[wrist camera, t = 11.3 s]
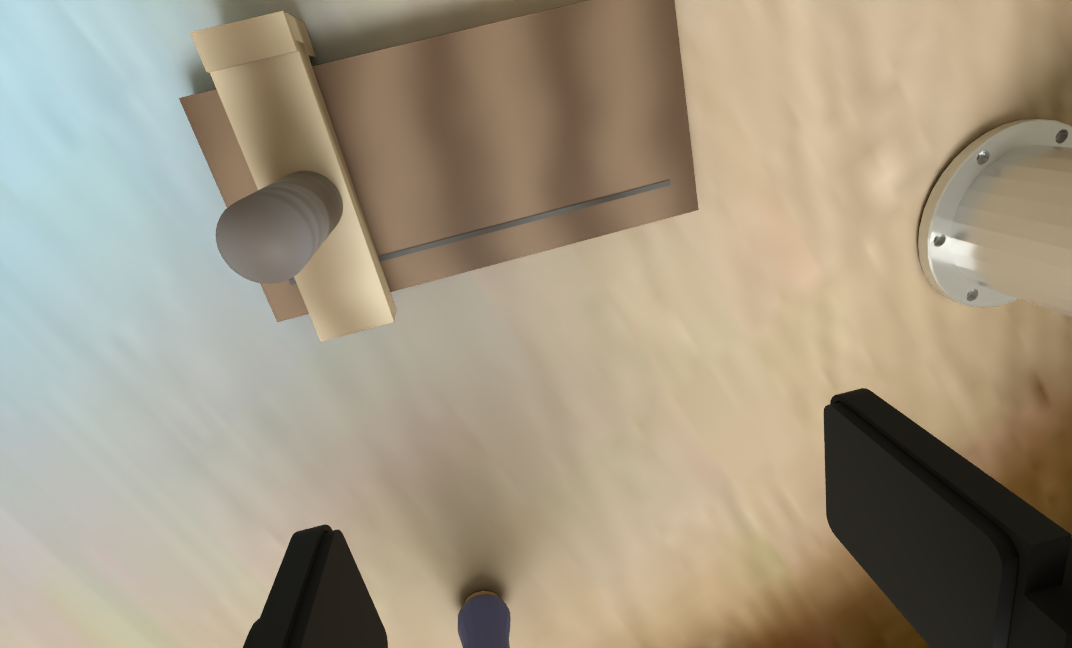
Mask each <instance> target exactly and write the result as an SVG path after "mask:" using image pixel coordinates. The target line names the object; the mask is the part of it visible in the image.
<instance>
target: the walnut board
mask: <svg viewBox="0 0 1072 648" xmlns="http://www.w3.org/2000/svg"><path fill="white" fill-rule="evenodd" d="M312 68H313V70H314V73H315V76H316V79H317V82H318V85H319V88H320V91H321V94H322V96H323V99H324V102H325V105H326V108H327V111H328V114H329V117H330V119H331V122H332V125H333V128H334V131H335V134H336V137H337V140H338V143H339V145H340V148H341V151H342V154H343V157H344V160H345V163H346V166H347V168H348V171H349V174H350V177H351V180H352V183H353V186H354V189H355V191H356V194H357V197H358V200H359V203H360V206H361V209H362V212H363V215H364V217H365V220H366V223H367V226H368V229H369V232H370V235H371V238H372V240H373V243H374V246H375V249H376V252H377V255H378V258H379V261H380V264H381V266H382V269H383V272H384V275H385V278H386V281H387V284H388V287H389V289H390V292H392V291H396V290H400V289H404V288H407V287H411V286H415V285H419V284H422V283H426V282H430V281H434V280H437V279H441V278H445V277H448V276H452V275H456V274H460V273H463V272H467V271H471V270H475V269H478V268H482V267H486V266H490V265H493V264H497V263H501V262H505V261H508V260H512V259H516V258H520V257H523V256H527V255H531V254H535V253H538V252H542V251H546V250H550V249H553V248H557V247H561V246H565V245H568V244H572V243H576V242H580V241H583V240H587V239H591V238H595V237H598V236H602V235H606V234H610V233H613V232H617V231H621V230H625V229H628V228H632V227H636V226H640V225H643V224H647V223H651V222H655V221H658V220H662V219H666V218H670V217H673V216H677V215H681V214H685V213H688V212H692V211H696V210H698V202H697V193H696V184H695V176H694V167H693V158H692V150H691V141H690V132H689V124H688V115H687V106H686V98H685V89H684V80H683V72H682V63H681V54H680V46H679V37H678V28H677V20H676V11H675V2H674V0H587V1H583V2H579V3H575V4H570V5H566V6H562V7H558V8H554V9H550V10H545V11H541V12H537V13H533V14H529V15H524V16H520V17H516V18H512V19H508V20H504V21H499V22H495V23H491V24H487V25H483V26H479V27H474V28H470V29H466V30H462V31H458V32H453V33H449V34H445V35H441V36H437V37H433V38H428V39H424V40H420V41H416V42H412V43H408V44H403V45H399V46H395V47H391V48H387V49H382V50H378V51H374V52H370V53H366V54H362V55H357V56H353V57H349V58H345V59H341V60H337V61H332V62H328V63H324V64H320V65H316V66H312ZM179 99H180V102H181V104H182V106H183V108H184V111H185V113H186V115H187V117H188V120H189V122H190V124H191V127H192V129H193V131H194V133H195V136H196V138H197V140H198V143H199V145H200V147H201V149H202V152H203V154H204V156H205V158H206V161H207V163H208V165H209V168H210V170H211V172H212V174H213V177H214V179H215V181H216V184H217V186H218V188H219V190H220V193H221V195H222V197H223V199H224V202H225V204H226V206H227V208H228V207H229V206H230V205H232V204H233V203H235V202H237V201H238V200H240V199H242V198H244V197H246V196H248V195H250V194H252V193H254V192H256V191H258V188H257V186H256V184H255V181H254V179H253V176H252V174H251V171H250V169H249V167H248V164H247V162H246V159H245V157H244V154H243V152H242V150H241V147H240V145H239V142H238V140H237V138H236V135H235V133H234V130H233V128H232V125H231V123H230V121H229V118H228V116H227V113H226V111H225V108H224V106H223V104H222V101H221V99H220V96H219V94H218V91H217V89H215V90H211V91H207V92H203V93H199V94H195V95H190V96H186V97H182V98H179ZM260 284H261V286H262V288H263V291H264V293H265V295H266V297H267V300H268V302H269V304H270V307H271V309H272V311H273V313H274V316H275V318H276V320H277V322H280V321H284V320H287V319H291V318H295V317H299V316H302V315H306V314H309V312H308V310H307V307H306V305H305V302H304V300H303V297H302V295H301V293H300V290H299V288H298V285H297V283H296V280H295V278H294V277H292V278H291V279H289V280H287V281H283V282H280V283H273V284H264V283H260Z"/></svg>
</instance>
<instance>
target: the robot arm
mask: <svg viewBox="0 0 1072 648" xmlns="http://www.w3.org/2000/svg"><path fill="white" fill-rule="evenodd" d="M918 249H919V258H920V262H921V266H922V269H923V272H924V274H925V276H926V277H927V279H928V281H929V282H930V284H931V285H932V286H933V287H934V288H935V289H936V290H937V291H938V292H939V293H940V294H941V295H943V296H945V297H947V298H949V299H951V300H953V301H955V302H958V303H961V304H963V305H966V306H972V307H981V308H985V307H995V306H1000V305H1004V304H1007V303H1010V302H1013V301H1016V300H1018V299H1021V300H1024V301H1026V302H1029V303H1032V304H1035V305H1038V306H1041V307H1044V308H1047V309H1050V310H1053V311H1055V312H1058V313H1061V314H1064V315H1067V316H1070V317H1072V126H1071V125H1068V124H1065V123H1063V122H1060V121H1057V120H1043V119H1027V120H1018V121H1014V122H1010V123H1007V124H1003V125H1001V126H999V127H997V128H995V129H993V130H991V131H988V132H986V133H985V134H983V135H982V136H981V137H979V138H978V139H976V140H975V141H973V142H972V143H970V144H969V145H968V146H967V147H966V148H965V149H964V150H963V151H962V152H961V153H960V154H959V155H958V156H956V157H955V159H954V160H953V161H952V162H951V163H950V165H949V166H948V167H947V168H946V170H945V171H944V172H943V173H942V175H941V177H940V178H939V180H938V182H937V183H936V185H935V187H934V188H933V190H932V192H931V194H930V196H929V199H928V201H927V203H926V206H925V208H924V211H923V215H922V219H921V223H920V227H919V239H918ZM824 441H825V478H826V514H827V520H828V523H829V526H830V528H831V530H832V532H833V533H834V535H835V536H836V537H837V538H838V539H839V541H840V542H841V543H842V544H843V545H844V547H845V548H846V549H847V550H848V551H849V552H850V554H851V555H852V556H853V557H854V558H855V559H856V561H857V562H858V563H859V564H860V565H861V566H862V568H863V569H864V570H865V571H866V572H867V574H868V575H869V576H870V577H871V578H872V579H873V581H874V582H875V583H876V584H877V585H878V586H879V588H880V589H881V590H882V591H883V592H884V593H885V595H886V596H887V597H888V598H889V599H890V601H891V602H892V603H893V604H894V605H895V606H896V608H897V609H898V610H899V611H900V612H901V613H902V615H903V616H904V617H905V618H906V619H907V620H908V622H909V623H910V624H911V625H912V626H913V628H914V629H915V630H916V631H917V632H918V633H919V635H920V636H921V637H922V638H923V639H924V640H925V642H926V643H927V644H928V645H929V646H930V647H931V648H1072V538H1071V534H1070V533H1068V532H1067V531H1066V530H1064V529H1063V528H1061V527H1060V526H1059V525H1057V524H1056V523H1054V522H1053V521H1052V520H1050V519H1049V518H1047V517H1046V516H1045V515H1043V514H1042V513H1040V512H1039V511H1038V510H1036V509H1035V508H1033V507H1032V506H1031V505H1029V504H1028V503H1026V502H1025V501H1024V500H1022V499H1021V498H1019V497H1018V496H1017V495H1015V494H1014V493H1012V492H1011V491H1010V490H1008V489H1007V488H1005V487H1004V486H1003V485H1001V484H1000V483H999V482H997V481H996V480H994V479H993V478H992V477H990V476H989V475H987V474H986V473H985V472H983V471H982V470H980V469H979V468H978V467H976V466H975V465H973V464H972V463H971V462H969V461H968V460H966V459H965V458H964V457H962V456H961V455H959V454H958V453H957V452H955V451H954V450H952V449H951V448H950V447H948V446H947V445H945V444H944V443H943V442H941V441H940V440H938V439H937V438H936V437H934V436H933V435H931V434H930V433H929V432H927V431H926V430H925V429H923V428H922V427H920V426H919V425H918V424H916V423H915V422H913V421H912V420H911V419H909V418H908V417H906V416H905V415H904V414H902V413H901V412H899V411H898V410H897V409H895V408H894V407H892V406H891V405H890V404H888V403H887V402H885V401H884V400H883V399H881V398H880V397H878V396H877V395H876V394H874V393H873V392H871V391H870V390H868V389H864V388H862V389H858V390H854V391H850V392H846V393H842V394H838V395H835V396H833V397H832V399H831V403H830V405H827V406H825V408H824ZM243 648H388V642H387V635H386V632H385V629H384V626H383V624H382V622H381V620H380V617H379V615H378V613H377V610H376V608H375V606H374V604H373V601H372V599H371V597H370V595H369V592H368V590H367V588H366V585H365V583H364V581H363V579H362V576H361V574H360V572H359V570H358V567H357V565H356V563H355V560H354V558H353V556H352V554H351V551H350V549H349V547H348V545H347V542H346V540H345V538H344V535H343V534H342V532H341V531H340V530H334V531H332V529H331V527H330V526H328V525H321V526H317V527H313V528H309V529H305V530H302V531H298V532H296V533H294V534H293V536H292V538H291V540H290V543H289V545H288V548H287V550H286V553H285V556H284V558H283V561H282V563H281V566H280V568H279V571H278V573H277V576H276V578H275V581H274V584H273V586H272V589H271V591H270V594H269V596H268V599H267V601H266V604H265V606H264V609H263V612H262V614H261V617H260V618H259V619H258V620H257V621H256V622H255V623H254V624H253V626H252V628H251V630H250V631H249V634H248V636H247V639H246V641H245V644H244V646H243Z"/></svg>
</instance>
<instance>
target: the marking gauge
mask: <svg viewBox="0 0 1072 648" xmlns="http://www.w3.org/2000/svg"><path fill="white" fill-rule="evenodd" d="M190 34H191V36H192V39H193V41H194V43H195V46H196V48H197V51H198V53H199V56H200V58H201V60H202V63H203V65H204V68H205V70H206V72H208V73H210V75H211V77H212V79H213V82H214V84H215V87H216V89H217V91H218V94H219V96H220V99H221V101H222V104H223V106H224V108H225V111H226V113H227V116H228V118H229V121H230V123H231V125H232V128H233V130H234V133H235V135H236V138H237V140H238V142H239V145H240V147H241V150H242V152H243V154H244V157H245V159H246V162H247V164H248V167H249V169H250V171H251V174H252V176H253V179H254V181H255V184H256V186H257V188H258V191H256V192H254V193H252V194H250V195H248V196H246V197H244V198H242V199H240V200H238V201H237V202H235V203H233V204H232V205H230V206H229V207H228V208H227V209H226V210H225V211H224V212H223V214H222V215H221V217H220V219H219V221H218V224H217V228H216V242H217V246H218V249H219V252H220V254H221V256H222V258H223V259H224V260H225V262H226V263H227V264H228V265H229V267H230V268H231V269H233V270H234V271H235V272H236V273H238V274H239V275H240V276H242V277H244V278H246V279H249V280H251V281H254V282H258V283H264V284H273V283H280V282H283V281H287V280H289V279H291V278H292V277H294V278H295V280H296V283H297V285H298V288H299V290H300V293H301V295H302V297H303V300H304V302H305V305H306V307H307V310H308V312H309V314H310V317H311V319H312V322H313V324H314V327H315V329H316V331H317V334H318V336H319V339H320V341H321V342H322V341H325V340H329V339H333V338H336V337H340V336H344V335H348V334H351V333H355V332H359V331H362V330H366V329H370V328H373V327H377V326H381V325H385V324H388V323H392V322H394V320H395V314H396V307H395V304H394V301H393V298H392V295H391V292H390V289H389V287H388V284H387V281H386V278H385V275H384V272H383V269H382V266H381V264H380V261H379V258H378V255H377V252H376V249H375V246H374V243H373V240H372V238H371V235H370V232H369V229H368V226H367V223H366V220H365V217H364V215H363V212H362V209H361V206H360V203H359V200H358V197H357V194H356V191H355V189H354V186H353V183H352V180H351V177H350V174H349V171H348V168H347V166H346V163H345V160H344V157H343V154H342V151H341V148H340V145H339V143H338V140H337V137H336V134H335V131H334V128H333V125H332V122H331V119H330V117H329V114H328V111H327V108H326V105H325V102H324V99H323V96H322V94H321V91H320V88H319V85H318V82H317V79H316V76H315V73H314V70H313V68H312V65H311V62H310V59H312V58H316V56H315V53H314V50H313V47H312V44H311V41H310V38H309V36H308V33H307V30H306V27H305V24H304V23H303V22H301V21H300V20H298V19H296V18H295V17H293V16H291V15H289V14H288V13H286V12H284V11H279V12H275V13H271V14H267V15H262V16H258V17H254V18H249V19H245V20H241V21H236V22H232V23H228V24H224V25H219V26H215V27H211V28H206V29H202V30H198V31H193V32H190Z"/></svg>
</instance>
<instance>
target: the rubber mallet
mask: <svg viewBox="0 0 1072 648" xmlns="http://www.w3.org/2000/svg"><path fill="white" fill-rule="evenodd" d="M509 632H510V611H509V609H508V607H507V605H506V604H505V603H504V601H503V600H502V599H500V598H499V597H498V596H497V595H496V594H494V593H493V592H489V591H480V592H476V593H474V594H472V595H471V596H469V597H468V598H467V599H466V601H465V603H464V605H463V607H462V608H461V610H460V612H459V614H458V634H459V637H460V640H461V643H462V646H463V648H510V647H509Z"/></svg>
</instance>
